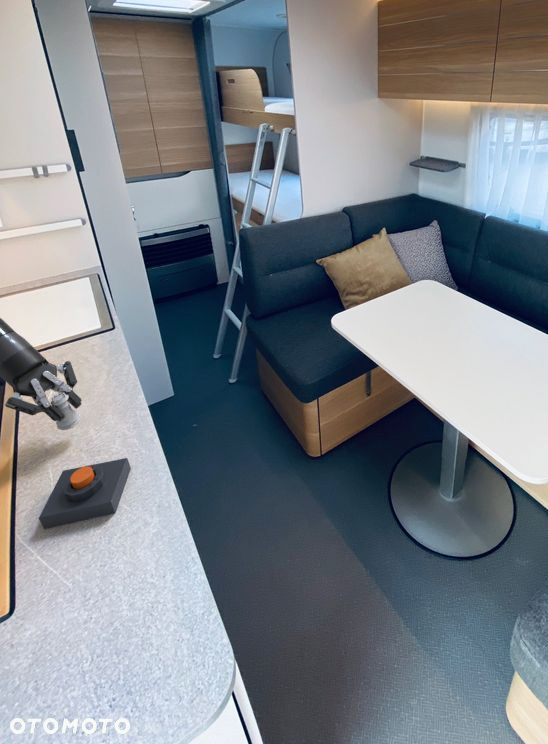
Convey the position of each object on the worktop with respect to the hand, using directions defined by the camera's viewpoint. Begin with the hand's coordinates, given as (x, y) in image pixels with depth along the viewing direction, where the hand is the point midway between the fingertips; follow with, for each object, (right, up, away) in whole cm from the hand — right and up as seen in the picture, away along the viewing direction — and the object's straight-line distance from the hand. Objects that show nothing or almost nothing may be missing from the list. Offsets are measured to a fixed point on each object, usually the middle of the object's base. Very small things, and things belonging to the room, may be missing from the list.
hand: (70, 412), depth 91 cm
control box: (+11, -13, -10) cm, 20 cm away
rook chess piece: (-2, -4, +2) cm, 5 cm away
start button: (+11, -9, -11) cm, 18 cm away
